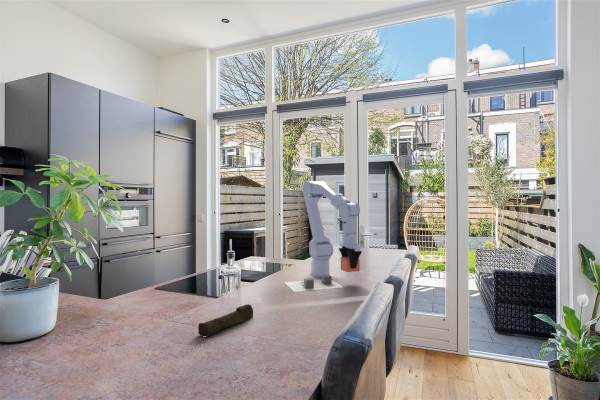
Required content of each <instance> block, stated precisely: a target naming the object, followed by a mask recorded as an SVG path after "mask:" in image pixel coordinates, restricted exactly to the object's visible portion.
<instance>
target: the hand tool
mask: <svg viewBox="0 0 600 400" xmlns="http://www.w3.org/2000/svg"><path fill="white" fill-rule="evenodd" d="M252 318H254V309H253V306H252V305H251V304H250V303H249V304H244V305H241V306H238V307H236V309H235V311H233V312H230V313H228V314H224V315H222V316H219V317H216V318H214V319H211V320H208V321H205V322H199V323H198V327H197V328H198V331H197V332H198V335H199V334H200V335H202V336H206V337H207V336H208V335H212V336H213V334H215V333H217V332H219V331H222V330H225V329H227V328H229V327H230V328H231V326H234V325H236V324H244V322H245V323H246V321H247V322H248V321H250V320H251V319H252ZM200 335H199V336H200ZM208 337H209V336H208ZM208 337H207V338H208Z"/></svg>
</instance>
